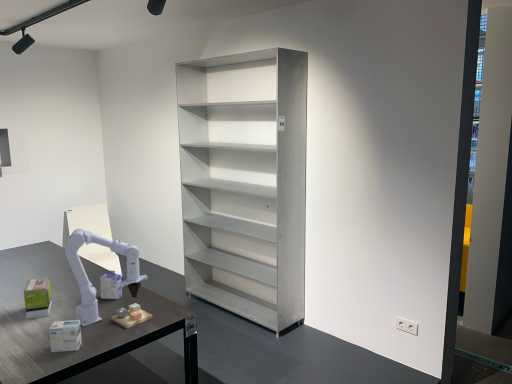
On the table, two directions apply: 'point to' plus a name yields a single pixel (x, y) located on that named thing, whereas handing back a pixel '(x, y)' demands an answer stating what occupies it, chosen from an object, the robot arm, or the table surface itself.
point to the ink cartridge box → (110, 286)
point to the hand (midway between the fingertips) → (134, 296)
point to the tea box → (37, 298)
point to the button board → (128, 322)
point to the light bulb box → (65, 336)
